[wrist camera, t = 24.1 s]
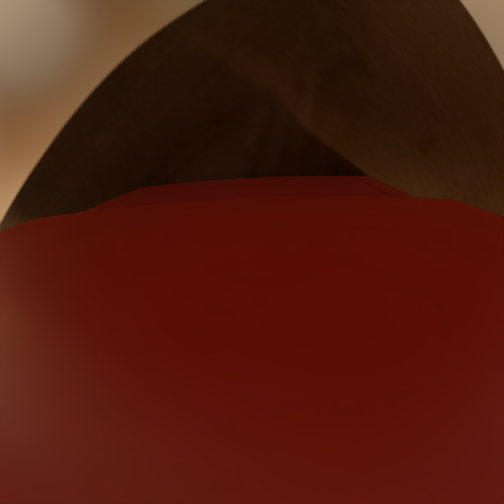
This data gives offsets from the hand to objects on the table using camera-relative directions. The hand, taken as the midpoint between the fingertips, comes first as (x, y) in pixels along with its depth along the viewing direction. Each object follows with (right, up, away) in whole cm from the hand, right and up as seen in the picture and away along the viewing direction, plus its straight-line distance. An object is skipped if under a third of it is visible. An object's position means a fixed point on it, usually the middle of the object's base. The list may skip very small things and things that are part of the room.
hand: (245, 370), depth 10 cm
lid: (-1, +2, -9) cm, 10 cm away
